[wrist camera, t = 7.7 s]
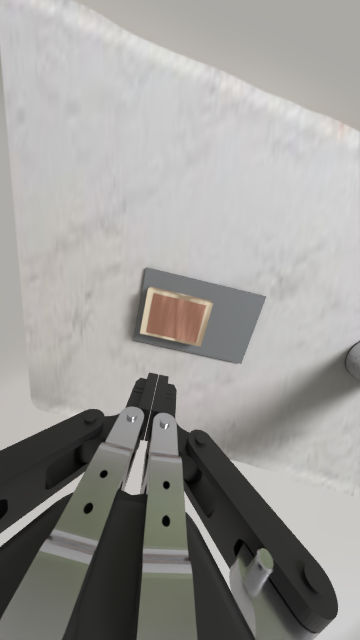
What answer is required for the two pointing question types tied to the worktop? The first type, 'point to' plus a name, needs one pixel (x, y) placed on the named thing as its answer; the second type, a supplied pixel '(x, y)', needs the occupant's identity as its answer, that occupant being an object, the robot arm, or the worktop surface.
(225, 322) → the rubber mat
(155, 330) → the cream brown rectangular block
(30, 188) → the worktop surface
